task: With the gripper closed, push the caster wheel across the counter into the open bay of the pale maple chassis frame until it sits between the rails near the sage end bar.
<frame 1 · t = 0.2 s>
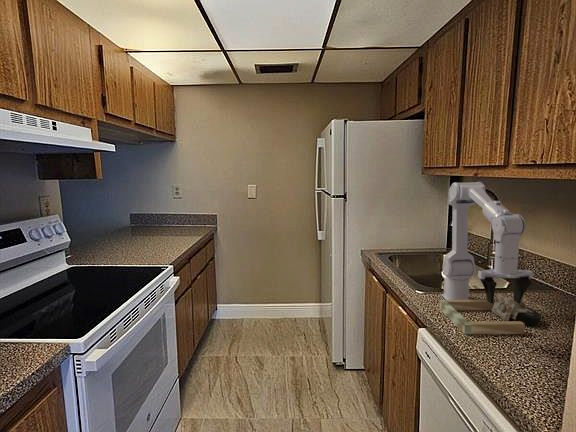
hand: (503, 302, 106), 10 cm above the countertop, tool pointing down, fingers open, 7 cm apart
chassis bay: (477, 319, 118), on the countertop
caster wheel: (518, 320, 117), on the countertop
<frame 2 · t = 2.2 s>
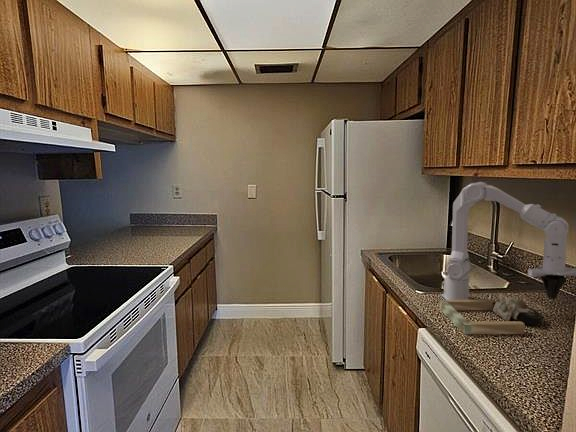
hand: (551, 297, 116), 7 cm above the countertop, tool pointing down, fingers closed
nothing on the countertop moved.
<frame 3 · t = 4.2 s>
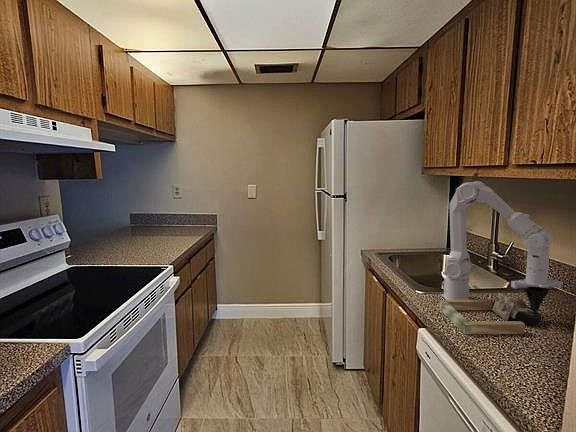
hand: (534, 309, 117), 3 cm above the countertop, tool pointing down, fingers closed
caster wheel: (518, 319, 117), on the countertop, touching gripper
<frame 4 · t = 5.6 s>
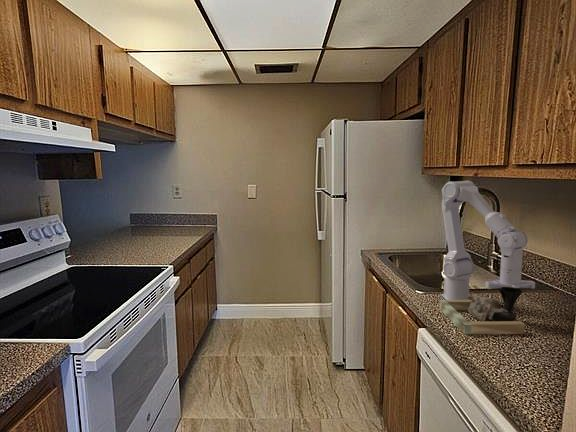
hand: (508, 309, 117), 3 cm above the countertop, tool pointing down, fingers closed
caster wheel: (493, 320, 117), on the countertop, touching gripper
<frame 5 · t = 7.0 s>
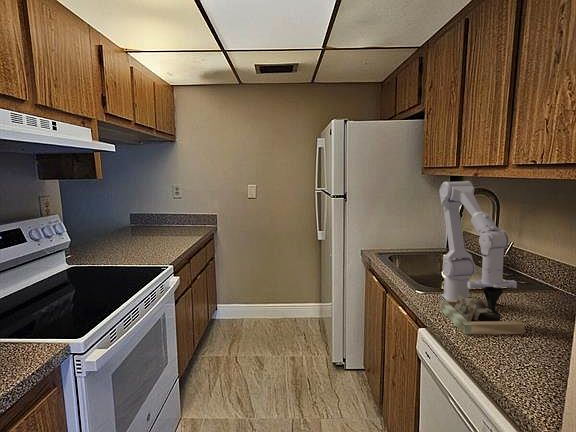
hand: (490, 309, 117), 4 cm above the countertop, tool pointing down, fingers closed, pressing on caster wheel
caster wheel: (479, 320, 117), on the countertop, touching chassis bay, gripper
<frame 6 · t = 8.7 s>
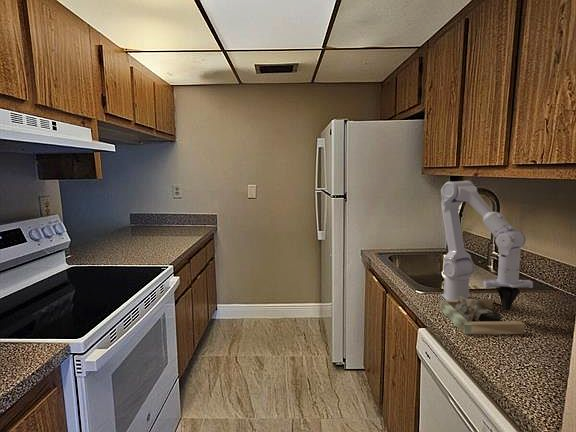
hand: (506, 309, 117), 4 cm above the countertop, tool pointing down, fingers closed
caster wheel: (479, 321, 117), on the countertop
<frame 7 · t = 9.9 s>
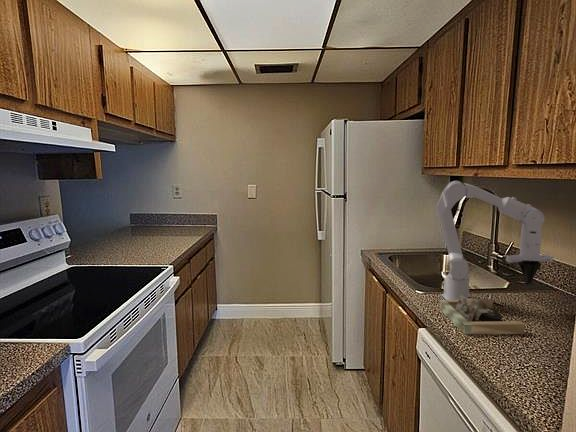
hand: (527, 282, 125), 9 cm above the countertop, tool pointing down, fingers closed
nothing on the countertop moved.
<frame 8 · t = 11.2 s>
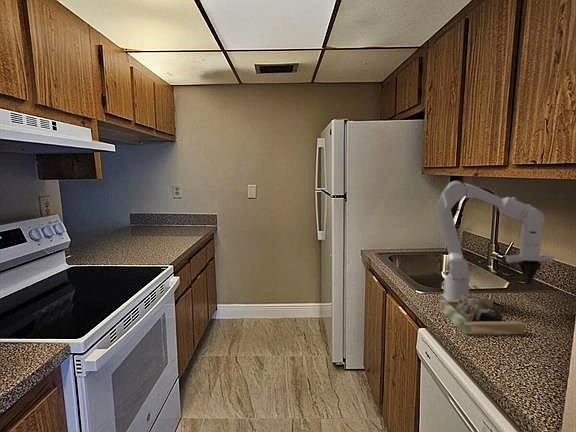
hand: (527, 282, 125), 9 cm above the countertop, tool pointing down, fingers closed
nothing on the countertop moved.
at the end: caster wheel inside the target area on the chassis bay (2.8 cm from its centre), point 0.0 cm above the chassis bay's base; caster wheel moved 11.7 cm from its start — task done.
